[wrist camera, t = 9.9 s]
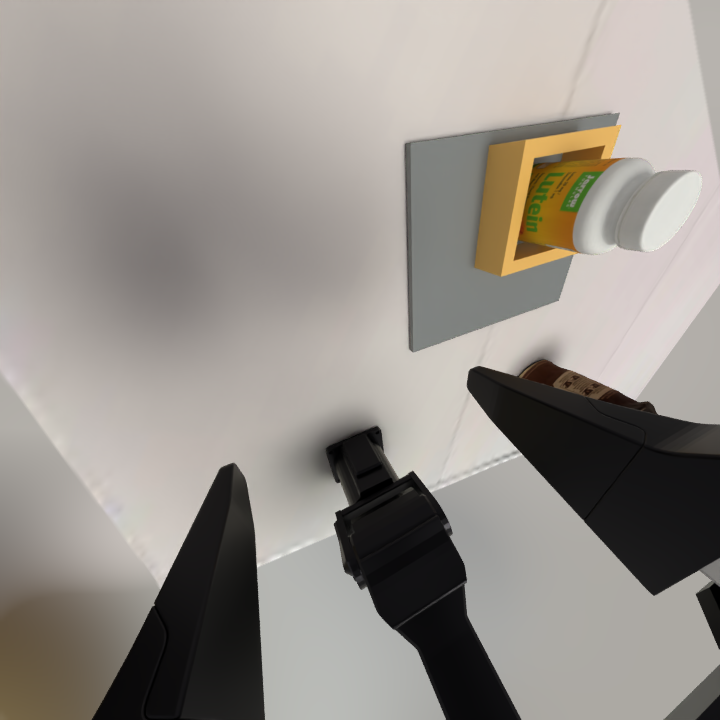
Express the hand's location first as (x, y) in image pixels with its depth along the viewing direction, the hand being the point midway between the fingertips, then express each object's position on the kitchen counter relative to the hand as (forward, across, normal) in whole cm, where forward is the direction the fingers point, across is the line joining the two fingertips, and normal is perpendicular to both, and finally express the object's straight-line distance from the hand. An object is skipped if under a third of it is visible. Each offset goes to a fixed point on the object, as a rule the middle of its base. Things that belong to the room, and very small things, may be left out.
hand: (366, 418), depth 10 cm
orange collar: (+12, -20, -3) cm, 24 cm away
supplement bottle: (+13, -20, -3) cm, 24 cm away
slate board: (+13, -19, 0) cm, 23 cm away
